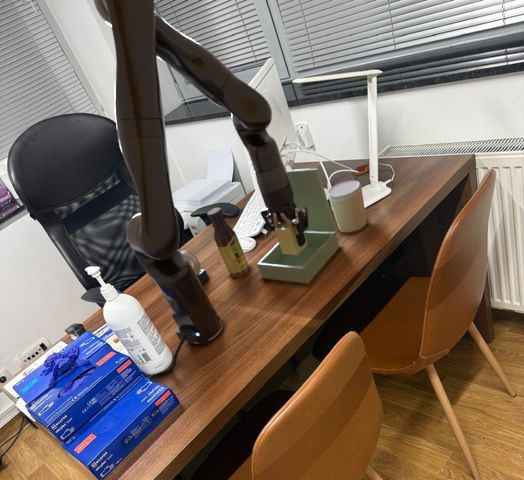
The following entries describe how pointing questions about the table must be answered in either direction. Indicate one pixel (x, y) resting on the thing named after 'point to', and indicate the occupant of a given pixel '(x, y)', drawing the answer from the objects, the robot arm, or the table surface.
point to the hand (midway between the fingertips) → (293, 244)
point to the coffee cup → (348, 205)
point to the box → (300, 259)
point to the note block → (288, 240)
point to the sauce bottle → (228, 244)
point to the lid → (311, 198)
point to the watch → (196, 266)
